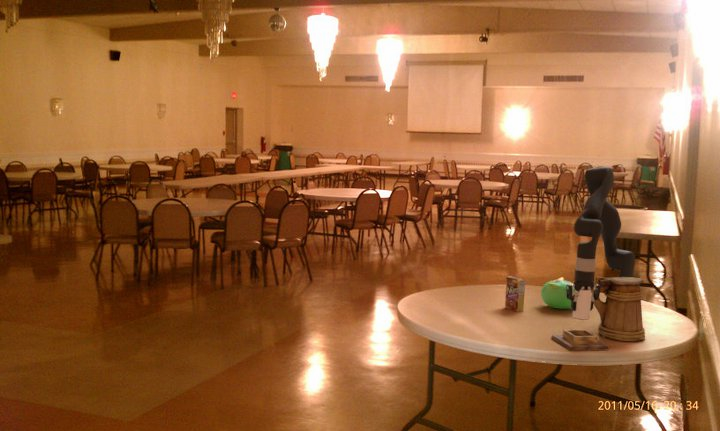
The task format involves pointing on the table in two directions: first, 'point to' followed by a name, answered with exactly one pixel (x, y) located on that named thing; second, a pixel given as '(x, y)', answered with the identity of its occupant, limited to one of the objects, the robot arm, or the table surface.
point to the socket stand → (579, 340)
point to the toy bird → (556, 294)
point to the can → (583, 305)
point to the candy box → (515, 293)
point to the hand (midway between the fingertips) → (581, 310)
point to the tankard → (620, 308)
